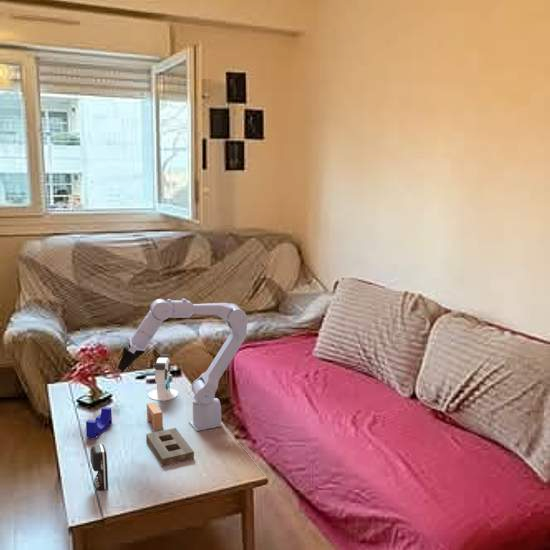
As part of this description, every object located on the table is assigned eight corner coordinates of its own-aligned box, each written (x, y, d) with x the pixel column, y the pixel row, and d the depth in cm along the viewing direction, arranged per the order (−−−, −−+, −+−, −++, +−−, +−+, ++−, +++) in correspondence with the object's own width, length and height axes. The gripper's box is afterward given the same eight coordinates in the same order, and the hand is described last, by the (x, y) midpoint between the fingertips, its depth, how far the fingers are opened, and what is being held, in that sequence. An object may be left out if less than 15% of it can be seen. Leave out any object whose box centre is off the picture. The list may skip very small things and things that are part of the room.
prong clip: (155, 418, 212) (154, 402, 211) (162, 428, 204) (162, 412, 203) (147, 419, 210) (146, 403, 209) (154, 430, 203) (153, 413, 201)
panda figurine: (175, 401, 226) (174, 364, 223) (145, 401, 226) (144, 363, 223) (180, 389, 237) (179, 353, 234) (152, 388, 238) (151, 353, 235)
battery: (91, 480, 171) (89, 444, 169) (104, 477, 173) (102, 441, 170) (94, 492, 165) (92, 455, 163) (108, 489, 167) (106, 452, 164)
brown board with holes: (175, 434, 199) (175, 427, 199) (194, 459, 184) (193, 451, 183) (146, 440, 195) (146, 433, 194) (162, 466, 179) (162, 458, 179)
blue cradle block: (100, 422, 208) (99, 406, 207) (111, 423, 207) (111, 407, 206) (82, 438, 197) (81, 421, 196) (95, 439, 196) (94, 422, 195)
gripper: (139, 323, 201) (117, 357, 201) (130, 328, 186) (107, 364, 186) (156, 334, 201) (135, 368, 201) (149, 340, 187) (126, 376, 187)
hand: (123, 367), depth 194 cm, fingers open, 7 cm apart
